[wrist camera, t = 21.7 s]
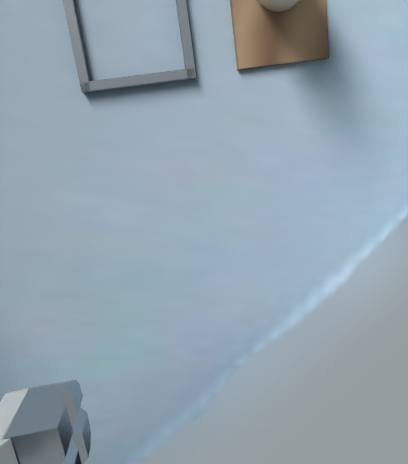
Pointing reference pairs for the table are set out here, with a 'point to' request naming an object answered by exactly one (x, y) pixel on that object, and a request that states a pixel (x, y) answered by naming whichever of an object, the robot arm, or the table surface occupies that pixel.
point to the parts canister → (278, 4)
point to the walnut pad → (279, 33)
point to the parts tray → (130, 80)
